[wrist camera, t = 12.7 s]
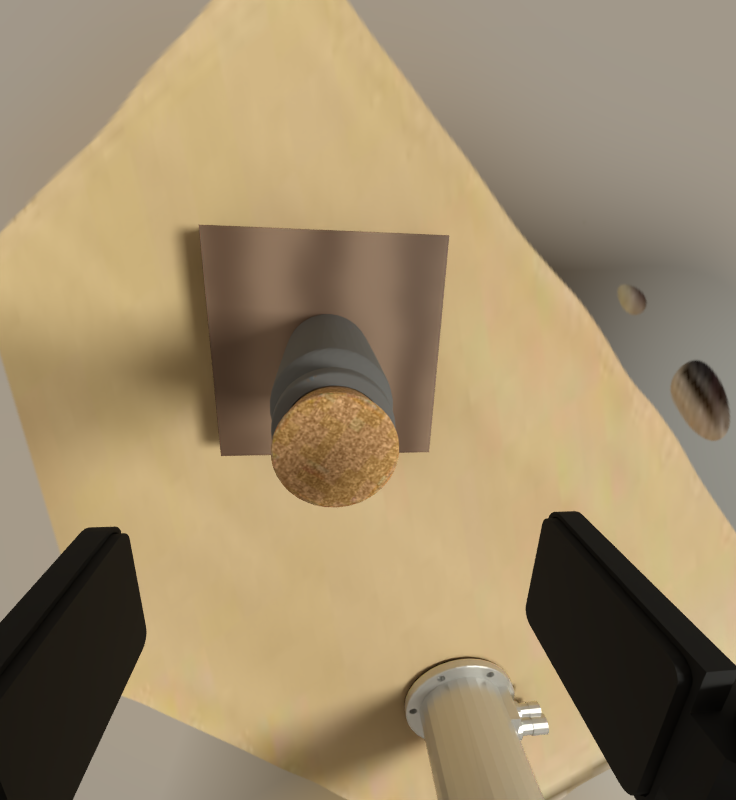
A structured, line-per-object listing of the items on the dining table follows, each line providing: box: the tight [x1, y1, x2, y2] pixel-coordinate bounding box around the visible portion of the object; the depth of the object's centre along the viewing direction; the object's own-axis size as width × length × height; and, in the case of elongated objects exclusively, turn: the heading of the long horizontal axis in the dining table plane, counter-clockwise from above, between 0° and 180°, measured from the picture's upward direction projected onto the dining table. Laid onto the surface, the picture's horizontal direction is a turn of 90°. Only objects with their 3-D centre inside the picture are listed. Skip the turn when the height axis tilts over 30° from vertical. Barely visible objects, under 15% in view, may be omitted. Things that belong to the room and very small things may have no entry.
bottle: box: [270, 314, 399, 507], centre depth 22 cm, size 6×6×15 cm
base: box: [199, 225, 449, 456], centre depth 30 cm, size 16×16×3 cm
